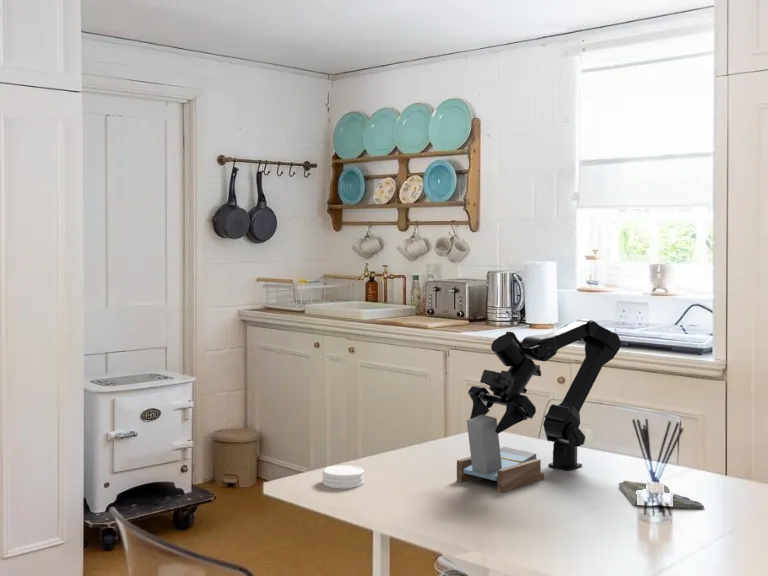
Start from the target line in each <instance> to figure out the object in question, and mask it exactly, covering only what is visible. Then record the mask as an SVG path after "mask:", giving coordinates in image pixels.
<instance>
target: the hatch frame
mask: <svg viewBox="0 0 768 576" xmlns="http://www.w3.org/2000/svg"><path fill="white" fill-rule="evenodd" d="M541 462H542V461H541V459H539V458H537V459H533V460H530V461H526V462H523V463H520V464H516V465H513V466H509V467H506V468H503V469H499V470H498V472H497V481H496V482H497V483H496V484H497V489H496V490H497V492H499V493H504V492H508V491H511V490H513V489H517V488H520V487H523V486H526V485H529V484H532V483H535V482H538V481H541V480H544V479H545V472H543V471H542V469H541V468H542V467H541V464H542V463H541ZM470 465H472V461H471V456H468V457H465V458H461V459H457V460H456V481H457V482H459V483H460V482H461V483H463V482H466V481H469V480H472V479H476V478H479V477H478V476H474V475H470V474H466V473H464V471H463V469H464V468H466V467H468V466H470Z"/></svg>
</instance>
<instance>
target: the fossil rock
mask: <svg viewBox="0 0 768 576" xmlns="http://www.w3.org/2000/svg"><path fill="white" fill-rule="evenodd" d="M646 485H647V482H646V483H645V482H638V481H637V482H636V481H628V480H623V482H619V483H618V486H619V487H618V489H619V491H620V492H622V494H624V495H625V497H626V499H627V501H629V504H631V505H632V506H637V494H636V491H637V490H643V489H646ZM663 485H664V484H663ZM664 492H665V493H671V492H670V488H669V487H668V486H667V485H664ZM673 494H674V495H673V509H678V508H679V509H699V510H703V509H704V508H705V505H703V504H702V502H700V501H696V500H693V499H690V498H689V497H688V496H682V495H679V494H676V493H673Z"/></svg>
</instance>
